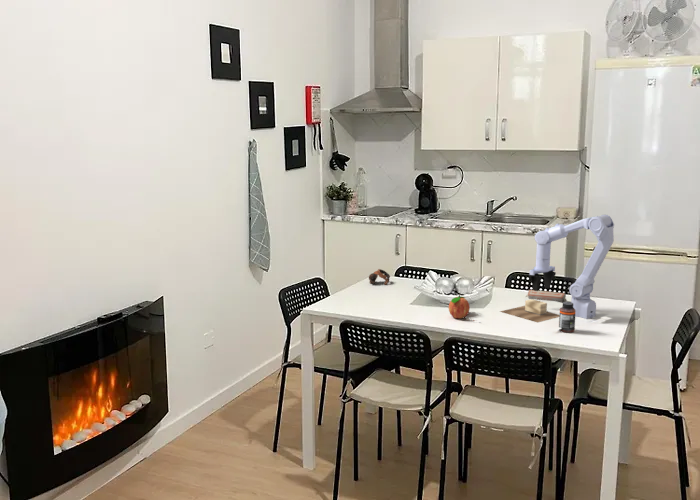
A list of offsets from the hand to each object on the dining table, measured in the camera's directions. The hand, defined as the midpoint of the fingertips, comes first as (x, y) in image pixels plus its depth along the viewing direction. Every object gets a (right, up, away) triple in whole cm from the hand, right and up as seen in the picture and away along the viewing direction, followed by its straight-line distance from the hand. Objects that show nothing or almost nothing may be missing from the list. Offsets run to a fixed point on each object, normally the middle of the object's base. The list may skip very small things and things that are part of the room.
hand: (541, 289), depth 299 cm
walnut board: (-7, -11, -8) cm, 15 cm away
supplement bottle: (+2, -15, -27) cm, 31 cm away
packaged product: (+6, -7, +17) cm, 20 cm away
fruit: (-37, -12, -9) cm, 40 cm away
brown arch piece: (-68, 0, +52) cm, 85 cm away
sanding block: (-4, -9, -7) cm, 12 cm away
